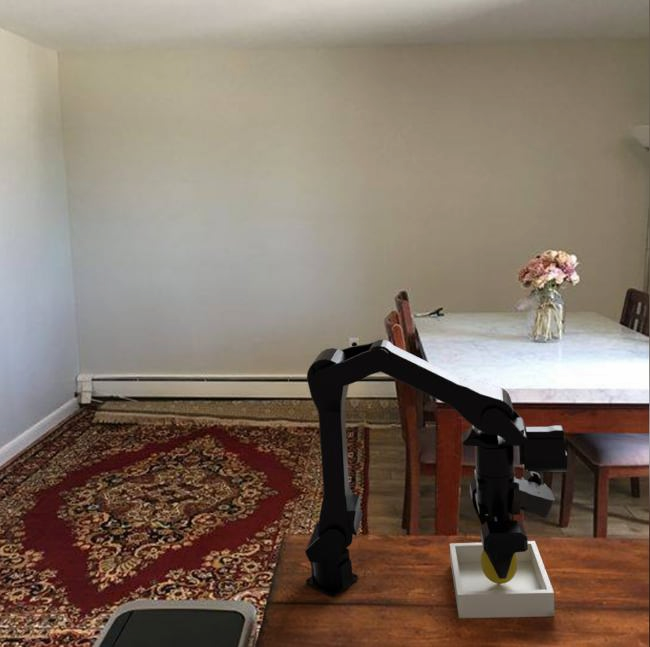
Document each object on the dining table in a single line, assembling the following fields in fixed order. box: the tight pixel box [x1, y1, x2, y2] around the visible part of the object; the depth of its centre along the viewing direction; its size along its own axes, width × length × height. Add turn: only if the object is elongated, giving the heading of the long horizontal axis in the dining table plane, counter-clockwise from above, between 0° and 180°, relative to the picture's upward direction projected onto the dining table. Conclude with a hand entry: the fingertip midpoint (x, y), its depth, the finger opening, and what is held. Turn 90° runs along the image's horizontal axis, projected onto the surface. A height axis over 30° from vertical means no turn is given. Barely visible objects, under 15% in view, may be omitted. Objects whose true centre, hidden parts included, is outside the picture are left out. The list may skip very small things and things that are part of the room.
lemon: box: [481, 549, 517, 584], centre depth 110 cm, size 6×6×8 cm
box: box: [449, 540, 555, 619], centre depth 110 cm, size 14×14×4 cm
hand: (498, 560), depth 110 cm, fingers open, 9 cm apart
